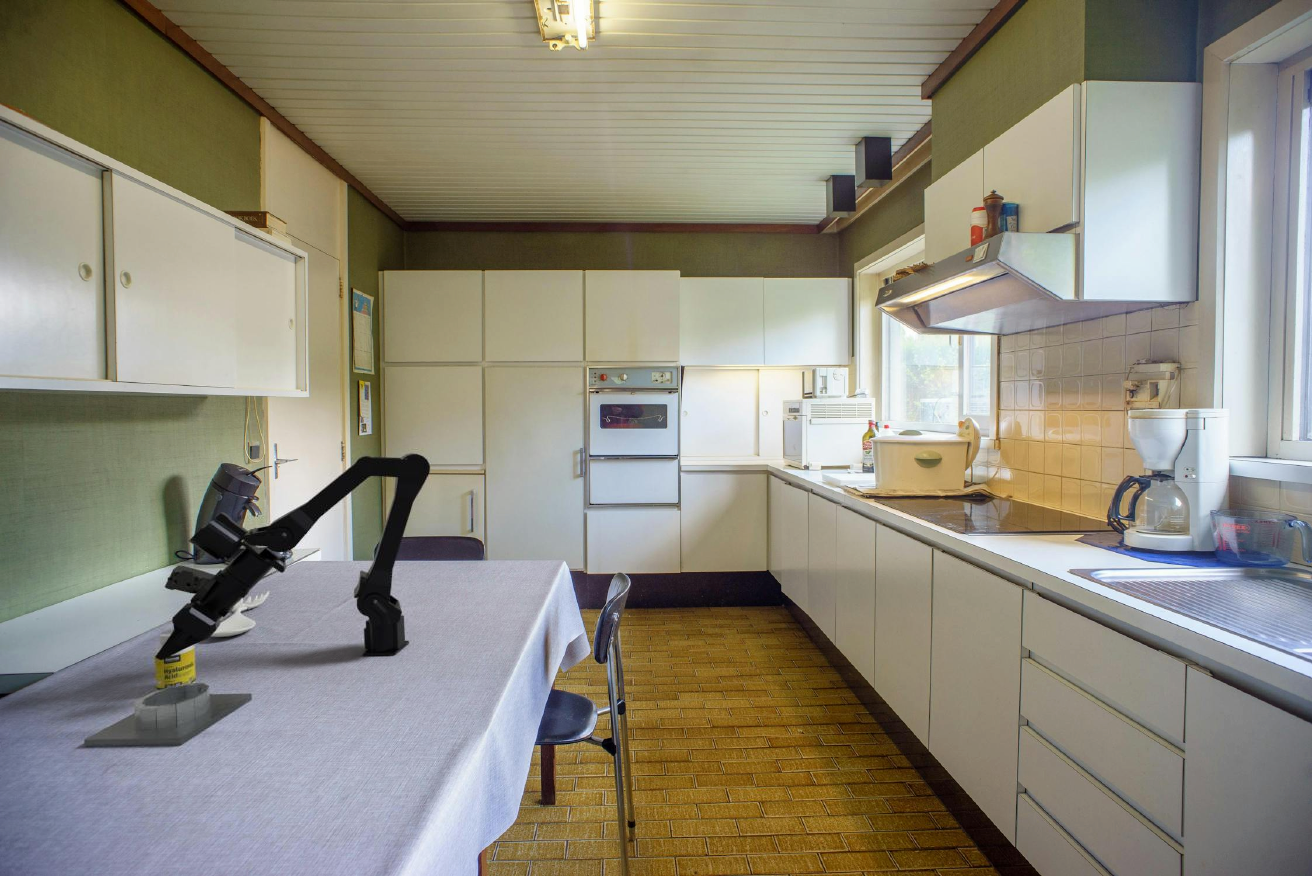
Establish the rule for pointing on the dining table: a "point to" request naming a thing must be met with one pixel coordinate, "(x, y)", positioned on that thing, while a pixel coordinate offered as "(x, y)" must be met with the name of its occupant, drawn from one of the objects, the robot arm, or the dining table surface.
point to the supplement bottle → (174, 666)
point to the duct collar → (169, 717)
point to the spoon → (239, 618)
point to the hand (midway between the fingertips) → (165, 649)
